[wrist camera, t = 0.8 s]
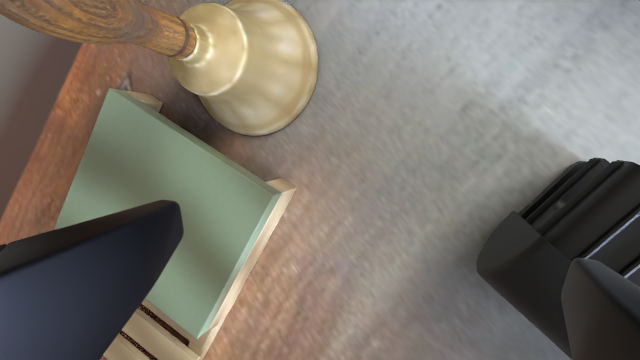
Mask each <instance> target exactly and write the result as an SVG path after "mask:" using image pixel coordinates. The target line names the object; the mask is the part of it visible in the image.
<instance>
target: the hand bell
mask: <svg viewBox="0 0 640 360" xmlns="http://www.w3.org/2000/svg"><path fill="white" fill-rule="evenodd" d="M0 14H2V15H3V16H5V17H7V18H9V19H10V20H12V21H15V22H16V23H19V24H21V25H23V26H25V27H28V28H30V29H32V30H35V31H37V32H41V33H44V34H47V35H51V36H54V37H58V38H62V39H66V40H70V41H75V42H81V43H88V44H99V45H112V44H135V45H139V46H142V47H145V48H148V49H150V50H153V51H156V52H158V53H161V54H163V55H166V56H168V58H169V63H170V66H171V69H172V72H173V73H174V75H175V77H176V78H177V80H178V81H179V82H180V84H181V85H182V86H183V87H185V88H186V89H187V90H189V91H191V92H193V93H195V94H197V95H199V98H200V100H201V102H202V104H203V105H204V107H205V108H206V110H207V111H208V112H209V114H210V115H211V116H212V117H213V118H214V119H215V120H216V121H217V122H218V123H220V124H221V125H222V126H224V127H225V128H227V129H229V130H231V131H233V132H236V133H239V134H244V135H251V136H258V135H265V134H269V133H272V132H275V131H278V130H280V129H282V128H284V127H285V126H287V125H288V124H289V123H291V122H292V121H293V120H294V119H295V118H296V117H297V116H298V115H299V114H300V113H301V112H302V111H303V109H304V108H305V106H306V105H307V103H308V101H309V100H310V98H311V96H312V94H313V91H314V88H315V85H316V80H317V75H318V53H317V46H316V43H315V39H314V36H313V34H312V31H311V29H310V27H309V26H308V24H307V22H306V21H305V20H304V18H303V17H302V16H301V15H300V14H299V12H298V11H297V10H296V9H294V8H293V7H292V6H291V5H289V4H287V3H286V2H284V1H282V0H233V1H231V2H229V3H227V4H225V5H224V6H223V5H221V4H217V3H201V4H197V5H195V6H193V7H191V8H189V9H188V10H186V11H185V12H184V13H183V14H182V15H181V16H180V17H179V18H177V17H174V16H172V15H169V14H166V13H164V12H161V11H158V10H156V9H153V8H151V7H149V6H147V5H145V4H144V3H142V2H141V1H140V0H0Z"/></svg>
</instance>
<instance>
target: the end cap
mask: <svg viewBox="0 0 640 360" xmlns="http://www.w3.org/2000/svg"><path fill="white" fill-rule="evenodd" d="M576 258H583V259H590V260H596V261H599V262H601V263H602V264H604V265H606V266H607V267H609V268H610V269H612V270H613V271H615V272H616V273H618V274H620V275H621V276H623V277H624V278H626V279H627V280H629V281H630V282H632V283H634V284H635V285H637V286H638V287H640V165H638V164H636V163H633V162H628V161H619V160H617V161H613V162H611V163H609V162H608V161H607V160H605V159H601V158H593V159H590V160H589V161H588V162H586V161H581V162H576V163H575V164H573V165H571V166H570V167H569V168H568V169H567V170H566V171H565V172H564V173H563V174H562V175H561V176H559V177H558V178H557V179H556V180H555V181H554V182H553V183H552V184H551V185H550V186H549V187H548V188H547V189H545V190H544V191H543V192H542V193H541V194H540V195H539V196H538V197H537V198H536V199H535V200H534V201H533V202H531V203H530V204H529V205H528V206H527V207H526V208H525V209H524V210H523V211H522V212H521V213H520V214H518V213H517V212H516V211H513V212H512V213H511V214H510V215H509V216H508V217H507V218H506V219H505V220H504V221H503V222H502V223H501V224H500V225H499V227H498V228H497V229H496V230H495V231H494V233H493V234H492V235H491V236H490V238H489V239H488V241H487V242H486V244H485V245H484V247H483V248H482V250H481V252H480V255H479V257H478V260H477V271H478V273H479V274H480V276H481V277H482V278H483V279H484V280H486V281H487V282H488V283H489V284H490V285H491V286H492V287H493V288H494V289H495V290H496V291H498V292H499V293H500V294H501V295H502V296H503V297H504V298H505V299H506V300H507V301H509V302H510V303H511V304H512V305H513V306H514V307H515V308H516V309H517V310H518V311H520V312H521V313H522V314H523V315H524V316H525V317H526V318H527V319H528V320H529V321H531V322H532V323H533V324H534V325H535V326H536V327H537V328H538V329H539V330H540V331H541V332H543V333H544V334H545V335H546V336H547V337H548V338H549V339H550V340H551V341H552V342H554V343H555V344H556V345H557V346H558V347H559V348H560V349H561V350H562V351H563V352H565V353H566V354H567V355H568V356H569V357H570V358H571V359H572V360H573V358H572V353H571V348H570V343H569V337H568V332H567V327H566V322H565V317H564V312H563V307H562V301H561V293H562V288H563V285H564V282H565V279H566V276H567V273H568V270H569V267H570V265H571V262H572V261H573V260H574V259H576Z"/></svg>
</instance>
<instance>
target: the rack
mask: <svg viewBox="0 0 640 360" xmlns="http://www.w3.org/2000/svg"><path fill="white" fill-rule="evenodd" d="M162 104H163V103H162V102H161V101H159V100H158V99H156V98H155V97H153V96H152V95H149V94H143V93H137V92H130V91H124V90H118V89H111V88H109V90H108V92H107V95H106V97H105V100H104V102H103V105H102V108H101V110H100V113H99V115H98V118H97V120H96V123H95V125H94V128H93V130H92V133H91V136H90V138H89V141H88V143H87V146H86V148H85V151H84V153H83V156H82V158H81V161H80V163H79V166H78V169H77V171H76V174H75V176H74V179H73V181H72V184H71V186H70V189H69V191H68V194H67V197H66V199H65V202H64V204H63V207H62V209H61V212H60V214H59V217H58V219H57V222H56V225H55V229H60V228H63V227H67V226H70V225H74V224H77V223H81V222H84V221H88V220H91V219H95V218H98V217H102V216H105V215H109V214H112V213H116V212H119V211H123V210H126V209H130V208H133V207H137V206H141V205H144V204H148V203H151V202H155V201H158V200H171V201H176V202H177V203H178V204H179V205H180V209H181V215H182V221H183V227H184V234H183V237H182V240H181V242H180V243H179V245H178V247H177V248H176V250H175V252H174V253H173V255H172V257H171V258H170V260H169V262H168V263H167V265H166V267H165V268H164V270H163V272H162V274H161V275H160V277H159V279H158V280H157V282H156V283H155V285H154V286H153V288H152V289H151V291H150V292H149V294H148V295H147V296H146V298H145V299H144V300H143V302H142V304H143V305H144V306H145V307H147V308H148V309H149V310H151V311H152V312H153V313H154V314H156V315H157V316H158V317H159V318H161V319H162V320H163V321H165V322H166V323H167V324H168V325H170V326H171V327H172V328H173V329H175V330H176V331H177V332H179V333H180V334H181V335H182V336H184V337H185V338H186V339H187V340H189V341H190V342H189V344H188V346H186V345H185V344H183V343H182V342H181V341H180V340H178V339H177V338H176V337H175V336H173V335H172V334H171V333H169V332H168V331H167V330H166V329H164V328H163V327H162V326H161V325H159V324H158V323H157V322H156V321H154V320H153V319H152V318H150V317H149V316H148V315H147V314H145V313H144V312H143V311H142V310H140V309H139V308H137V310H136V311H135V312H134V314H133V315H132V317H131V318H130V319H129V321H128V322H127V323H126V325H125V326H124V327H123V329H122V331H124V332H125V333H126V334H127V335H129V336H130V337H131V338H132V339H133V340H135V341H136V342H137V343H138V344H140V345H141V346H142V347H143V348H144V349H146V350H147V351H148V352H149V353H151V354H152V355H153V356H154V357H156V358H157V359H158V360H203V358H204V356H205V355H206V353H207V351H208V349H209V347H210V345H211V344H212V342H213V340H214V338H215V336H216V335H217V333H218V331H219V329H220V327H221V325H222V324H223V322H224V320H225V318H226V316H227V315H228V313H229V311H230V309H231V307H232V305H233V304H234V302H235V300H236V298H237V296H238V294H239V293H240V291H241V289H242V287H243V285H244V284H245V282H246V280H247V278H248V276H249V274H250V273H251V271H252V269H253V267H254V265H255V263H256V262H257V260H258V258H259V256H260V254H261V252H262V251H263V249H264V247H265V245H266V243H267V242H268V240H269V238H270V236H271V234H272V232H273V231H274V229H275V227H276V225H277V223H278V221H279V220H280V218H281V216H282V214H283V212H284V210H285V209H286V207H287V205H288V203H289V201H290V199H291V198H292V196H293V194H294V192H295V190H296V187H294V186H293V185H291V184H289V183H288V182H286V181H285V180H283V179H282V178H280V179H276V180H271V181H267V182H265V181H263V180H261V179H260V178H258V177H257V176H255V175H254V174H252V173H251V172H249V171H248V170H246V169H245V168H243V167H241V166H240V165H238V164H237V163H235V162H234V161H232V160H231V159H229V158H228V157H226V156H224V155H223V154H221V153H220V152H218V151H217V150H215V149H214V148H212V147H211V146H209V145H207V144H206V143H204V142H203V141H201V140H200V139H198V138H197V137H195V136H194V135H192V134H191V133H189V132H187V131H186V130H184V129H183V128H181V127H180V126H178V125H177V124H175V123H174V122H172V121H170V120H169V119H167V118H166V117H164V116H163V115H161V114H160V113H159V111H160V109H161V107H162ZM103 356H104V357H106V358H107V359H108V360H151V359H150V358H149V357H147V356H146V355H145V354H144V353H142V352H141V351H140V350H139V349H138V348H136V347H135V346H134V345H133V344H131V343H130V342H129V341H128V340H127V339H125V338H124V337H123V336H122V335H120V334H118V335H117V337H116V338H115V339H114V341H113V342H112V344H111V345H110V346H109V348H108V349H107V350H106V352H105V353H104V354H103Z"/></svg>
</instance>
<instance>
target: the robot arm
mask: <svg viewBox="0 0 640 360" xmlns="http://www.w3.org/2000/svg"><path fill="white" fill-rule="evenodd" d="M183 234H184V227H183V221H182V215H181V209H180V205H179V204H178V203H177V202H176V201H171V200H158V201H155V202H151V203H148V204H144V205H141V206H137V207H133V208H130V209H126V210H123V211H119V212H116V213H112V214H109V215H105V216H102V217H98V218H95V219H91V220H88V221H84V222H81V223H77V224H74V225H70V226H67V227H63V228H60V229H56V230H53V231H49V232H46V233H42V234H39V235H35V236H32V237H28V238H25V239H21V240H18V241H14V242H11V243H9V244H8V245H6V244H3V245H0V360H100V358H101V357H102V356H103V354H104V353H105V352H106V350H107V349H108V348H109V346H110V345H111V344H112V342H113V341H114V339H115V338H116V337H117V335H118V334H119V333H120V331H121V330H122V329H123V327H124V326H125V325H126V323H127V322H128V321H129V319H130V318H131V317H132V315H133V314H134V312H135V311H136V310H137V308H138V307H139V306H140V304H141V303H142V302H143V300H144V299H145V298H146V296H147V295H148V294H149V292H150V291H151V289H152V288H153V286H154V285H155V283H156V282H157V280H158V279H159V277H160V275H161V274H162V272H163V270H164V268H165V267H166V265H167V263H168V262H169V260H170V258H171V257H172V255H173V253H174V252H175V250H176V248H177V247H178V245H179V243H180V242H181V240H182V237H183ZM561 301H562V307H563V312H564V317H565V322H566V327H567V332H568V337H569V343H570V348H571V353H572V358H573V360H640V287H638V286H637V285H635V284H634V283H632V282H630V281H629V280H627V279H626V278H624V277H623V276H621V275H620V274H618V273H616V272H615V271H613V270H612V269H610V268H609V267H607V266H606V265H604V264H602V263H601V262H599V261H596V260H590V259H583V258H576V259H574V260H573V261H572V262H571V265H570V267H569V270H568V273H567V276H566V279H565V282H564V285H563V288H562V293H561Z"/></svg>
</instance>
